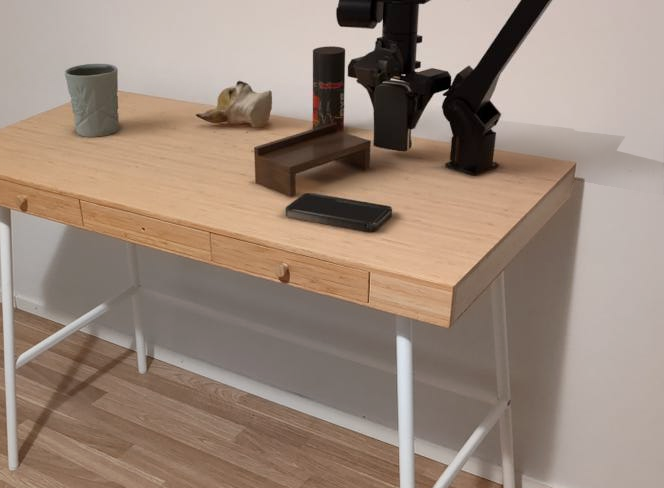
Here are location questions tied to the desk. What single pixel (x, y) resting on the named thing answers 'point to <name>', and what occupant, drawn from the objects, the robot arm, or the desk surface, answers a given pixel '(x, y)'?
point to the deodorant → (328, 86)
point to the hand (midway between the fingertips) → (395, 124)
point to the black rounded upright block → (391, 116)
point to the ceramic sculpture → (240, 106)
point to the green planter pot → (94, 98)
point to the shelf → (307, 156)
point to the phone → (339, 212)
